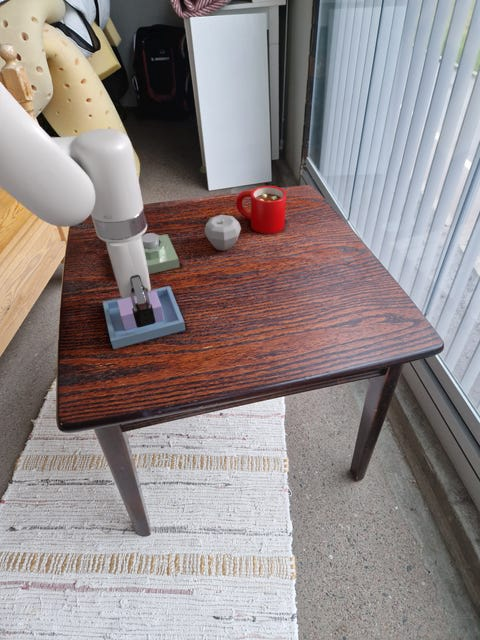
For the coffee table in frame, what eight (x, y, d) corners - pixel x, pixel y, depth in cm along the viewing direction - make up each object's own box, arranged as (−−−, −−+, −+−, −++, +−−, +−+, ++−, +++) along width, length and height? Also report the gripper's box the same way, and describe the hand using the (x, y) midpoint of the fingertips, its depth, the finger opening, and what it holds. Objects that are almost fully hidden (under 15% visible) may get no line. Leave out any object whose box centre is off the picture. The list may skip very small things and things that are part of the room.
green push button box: (121, 280, 85) (117, 264, 82) (114, 253, 91) (110, 238, 89) (179, 267, 87) (177, 251, 85) (168, 242, 94) (166, 226, 91)
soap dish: (113, 349, 71) (110, 341, 70) (105, 310, 78) (102, 301, 77) (185, 330, 74) (184, 321, 73) (171, 293, 81) (169, 285, 80)
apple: (204, 237, 95) (202, 211, 91) (239, 234, 96) (238, 208, 91) (206, 258, 90) (204, 231, 85) (243, 255, 90) (243, 228, 86)
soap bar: (125, 330, 73) (120, 316, 71) (120, 314, 76) (116, 299, 74) (164, 320, 75) (161, 306, 73) (158, 305, 78) (155, 290, 76)
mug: (242, 210, 104) (241, 180, 98) (288, 219, 100) (290, 188, 95) (229, 226, 99) (228, 195, 93) (277, 236, 95) (279, 205, 90)
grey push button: (143, 251, 86) (142, 244, 84) (140, 242, 88) (138, 234, 87) (161, 247, 86) (159, 240, 85) (157, 238, 89) (156, 231, 88)
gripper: (88, 198, 67) (112, 283, 79) (101, 258, 55) (127, 346, 67) (134, 190, 69) (151, 274, 81) (157, 246, 57) (173, 334, 69)
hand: (140, 307), depth 74 cm, fingers open, 8 cm apart
